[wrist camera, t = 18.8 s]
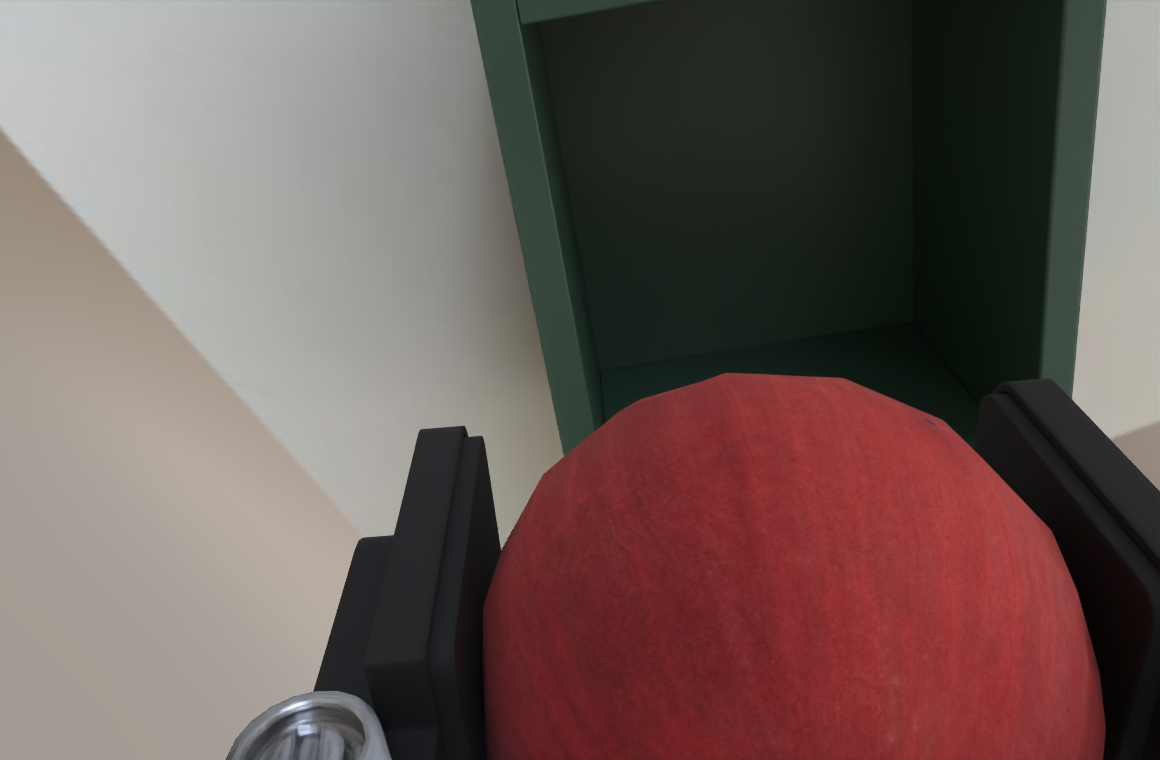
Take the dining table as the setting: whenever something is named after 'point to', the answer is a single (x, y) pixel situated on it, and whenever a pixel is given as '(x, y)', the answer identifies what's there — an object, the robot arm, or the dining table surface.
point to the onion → (783, 592)
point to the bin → (798, 192)
